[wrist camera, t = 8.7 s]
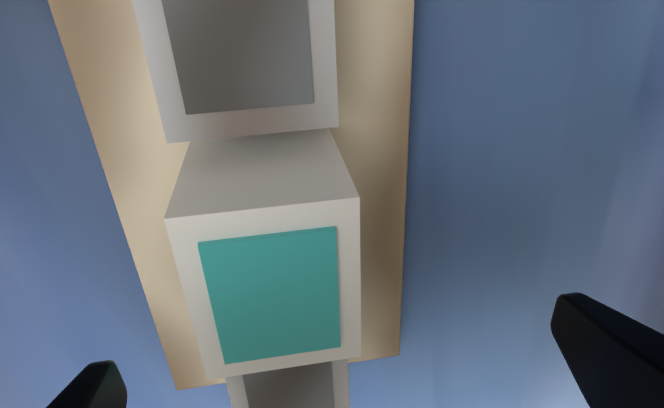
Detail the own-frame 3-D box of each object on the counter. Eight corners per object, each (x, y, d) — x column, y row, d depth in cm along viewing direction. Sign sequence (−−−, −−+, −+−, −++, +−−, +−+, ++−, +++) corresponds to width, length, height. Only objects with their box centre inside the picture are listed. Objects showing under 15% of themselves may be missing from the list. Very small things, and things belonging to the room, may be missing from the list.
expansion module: (326, 123, 17) (361, 200, 11) (332, 251, 20) (362, 361, 14) (192, 135, 16) (162, 223, 11) (219, 266, 19) (206, 385, 14)
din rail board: (406, -136, 15) (478, -179, 10) (391, 335, 26) (423, 421, 21) (27, -124, 14) (-97, -169, 9) (181, 367, 24) (163, 467, 20)
